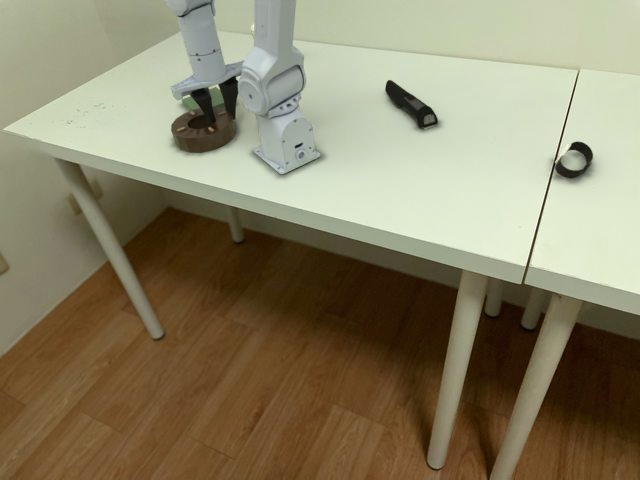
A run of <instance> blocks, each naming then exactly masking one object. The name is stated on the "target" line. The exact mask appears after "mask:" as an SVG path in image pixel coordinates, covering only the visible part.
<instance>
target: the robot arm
mask: <svg viewBox="0 0 640 480" xmlns="http://www.w3.org/2000/svg"><path fill="white" fill-rule="evenodd" d="M163 1H164V3H165V5H166V6H167V8H168V9H169V11H170V12H171V13H172V14H173V15H175V17H176V20H177V23H178V27H179V30H180V34H181V37H182V40H183V44H184V48H185V51H186V54H187V57H188V61H189V64H190V67H191V71H192V75H190V76H189V77H187V78H185V79H183V80H182V81H180V82H178V83H176V84H173V85H171V86H170V90H171V93H172V97H173V98H174V99H175V100H176V101H180V100H181V101H182V99H184V98H185V97H186V96H187V97H188V95H189V97H190V96H191V97H192V98H193V99H194V100H195V102H196V103H197V104H198V105H199V107H200V108H201V110H202V111H203V113H204V114H205V116H206V118H207V120H208V122H209V124H210V125H212V124H214V123H215V121H216V119H215V116H214V112H213V107H212V99H211V96H209V95H208V94H207V91H205V89H206V88H208V87H209V88H212V87H213V86H214V87H215V86H218V89H219V90H220V91H221V93H222V96H223V100H224V104H225V108H224V109H226V110H228V111H229V112H230V113H232V117H233V121H235V120H237V118H236V117H237V116H236V114H237V113H236V112H237V101H238V97H239V99H240V101H241V103H242V104H243V106H244V107H245V108H246V109H247V110H248V111H250V112H251V113H252V114H253V115H254V116H255V120H256V126H257V129H258V135H259V141H260V144H261V145H260V146H259V147H256V148H254V150H253V153H254V154H255V155H256V156H258V157H259V159H261V160H262V161H264V162H265V163H266V164H268V166H270V167H271V168H272V169H273V170H275V171H276V172H277V173H278V174H280V175H285V174H287V173H289V172H292V171H293V170H295V169H297V168H299V167H301V166H304V165H307V164H308V163H310V162H312V161H314V160H317V159H318V158H320V157H321V153H320V152H319V151H317V150H316V146H315V145H316V143H315V136H314V129H313V125H312V123H311V122H310V120H309V119H308V118H307V117H306V116H305V115H304V114H303V112H302V110H301V107H300V101H301V100H302V92H303V91H304V90H305V89H306V86H307V74H306V71H305V65H304V63H305V62H304V61H305V55H304V54H303V53H302V52H301V51H300V49H298V48H297V47H296V46H294V33H295V19H296V8H297V0H253V3H254V4H253V23H254V39H253V47H252V49H250V52H249V53H248V55H247V56H246V57H245V59H244V60H241V61H237V62H233V63H228V64H226V62H225V59H224V55H223V50H222V47H221V43H220V39H219V34H218V30H217V26H216V22H215V18H214V17H215V16H216V13H217V12H216V7H215V2H216V0H163ZM238 77H239V79H237V78H238Z"/></svg>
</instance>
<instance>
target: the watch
mask: <svg viewBox="0 0 640 480" xmlns="http://www.w3.org/2000/svg"><path fill="white" fill-rule="evenodd" d="M569 151H576V152H578V153H580V154H582V156H584V158H585V161H586V164H585V165H584V167H583V168H581V169H578V170H575V169H569V168H567V167H566V166H564V164H563V163H562V159H563V158H564V157H565V156H566V154H567V153H568V152H569ZM593 152H594V151H593V150H592V149H591V147H590V146H589V145H588V144H587V143H585V142H583V141H574V142H572V143H567V144H566V145H565V146H564V148H563V149H562V151H561V152H560V154H559V155H558V156H557V158H556V160H555V161H554V164H555V172H556V173H557V174H558V175H559V176H560V177H563V178H565V179H576V178H578V177H580V176H581V175H584V174H585V172H586V171H587V170H588V169H589V168H590V166H591V165H592V161H593V158H594V153H593Z"/></svg>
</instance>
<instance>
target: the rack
mask: <svg viewBox="0 0 640 480" xmlns="http://www.w3.org/2000/svg"><path fill="white" fill-rule="evenodd" d="M205 91H207V94H208V95H209V96H211V99H212V107H219V108H224V109H225V104H224V100H223V96H222V93H221V91H220V88H219V87H216V86H214V87H208V88H206V89H205ZM181 102H182V105H183V106H184V107H185V109H187V110H189V111H192V110H194V109H199V108H200V107H199V105H198V104H197V103H196V102H195V100H194V99H193V98H192V97H191V96H190V95H189V96H187V97H183V99H181Z"/></svg>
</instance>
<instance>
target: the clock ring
mask: <svg viewBox="0 0 640 480" xmlns="http://www.w3.org/2000/svg"><path fill="white" fill-rule="evenodd" d="M213 112H214V116H215V119H216V121H215V123H214V124H212V125H210V124H209V122H208V120H207V118H206V116H205V114H204V113H203V111H202V110H201V108H199V109H194V110H192V111H190V110H189V111H185V112H184V113H182V114H181V115H180V116H178V117H176V118H175V119H174V120H173V122H172V123H171V125H170V132H171V134H172V137H173V140H174V144H175V145H176V146H177V147H178V148H179V150H181V151H183V152H187V153H205V152H211V151H215V150H217V149H220V148H221V147H224V146H226V145H227V144H228V143H230V142H231V141H232V140H233V139H234V137H235V135H236V133H237V131H236V126H235V125H236V124H235V120H233V117H232V113H230V112H229V111H228V110H226V109H225V108H219V107H213Z"/></svg>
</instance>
